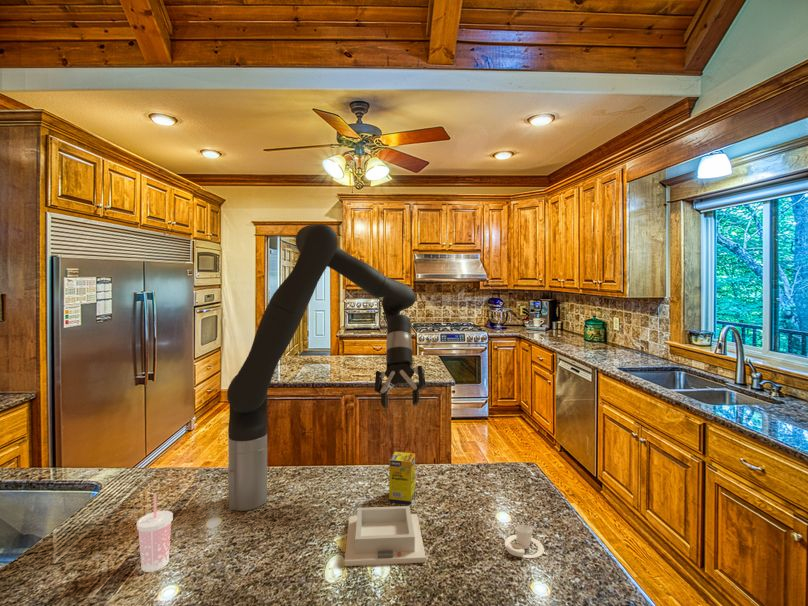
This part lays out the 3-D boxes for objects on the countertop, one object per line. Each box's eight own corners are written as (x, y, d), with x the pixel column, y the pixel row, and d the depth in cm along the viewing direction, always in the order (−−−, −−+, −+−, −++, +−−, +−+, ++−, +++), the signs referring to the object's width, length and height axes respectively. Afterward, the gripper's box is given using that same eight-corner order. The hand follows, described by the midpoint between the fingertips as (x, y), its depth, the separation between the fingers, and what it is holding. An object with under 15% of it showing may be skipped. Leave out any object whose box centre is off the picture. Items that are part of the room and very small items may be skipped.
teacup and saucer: (513, 564, 80) (513, 543, 80) (494, 540, 88) (494, 522, 87) (551, 556, 82) (552, 537, 82) (529, 534, 90) (529, 516, 90)
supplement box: (411, 504, 102) (411, 461, 101) (388, 502, 103) (388, 459, 103) (415, 493, 107) (415, 452, 107) (393, 491, 109) (394, 451, 108)
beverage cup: (176, 551, 83) (176, 484, 83) (169, 570, 77) (168, 498, 77) (142, 557, 81) (141, 488, 81) (132, 577, 75) (131, 503, 75)
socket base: (344, 566, 78) (344, 545, 78) (349, 520, 94) (349, 503, 94) (425, 562, 80) (425, 542, 80) (417, 517, 96) (417, 501, 95)
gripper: (371, 349, 115) (370, 406, 108) (418, 342, 111) (421, 401, 104) (381, 357, 121) (381, 411, 114) (426, 351, 117) (429, 406, 110)
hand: (400, 406), depth 109 cm, fingers open, 8 cm apart
